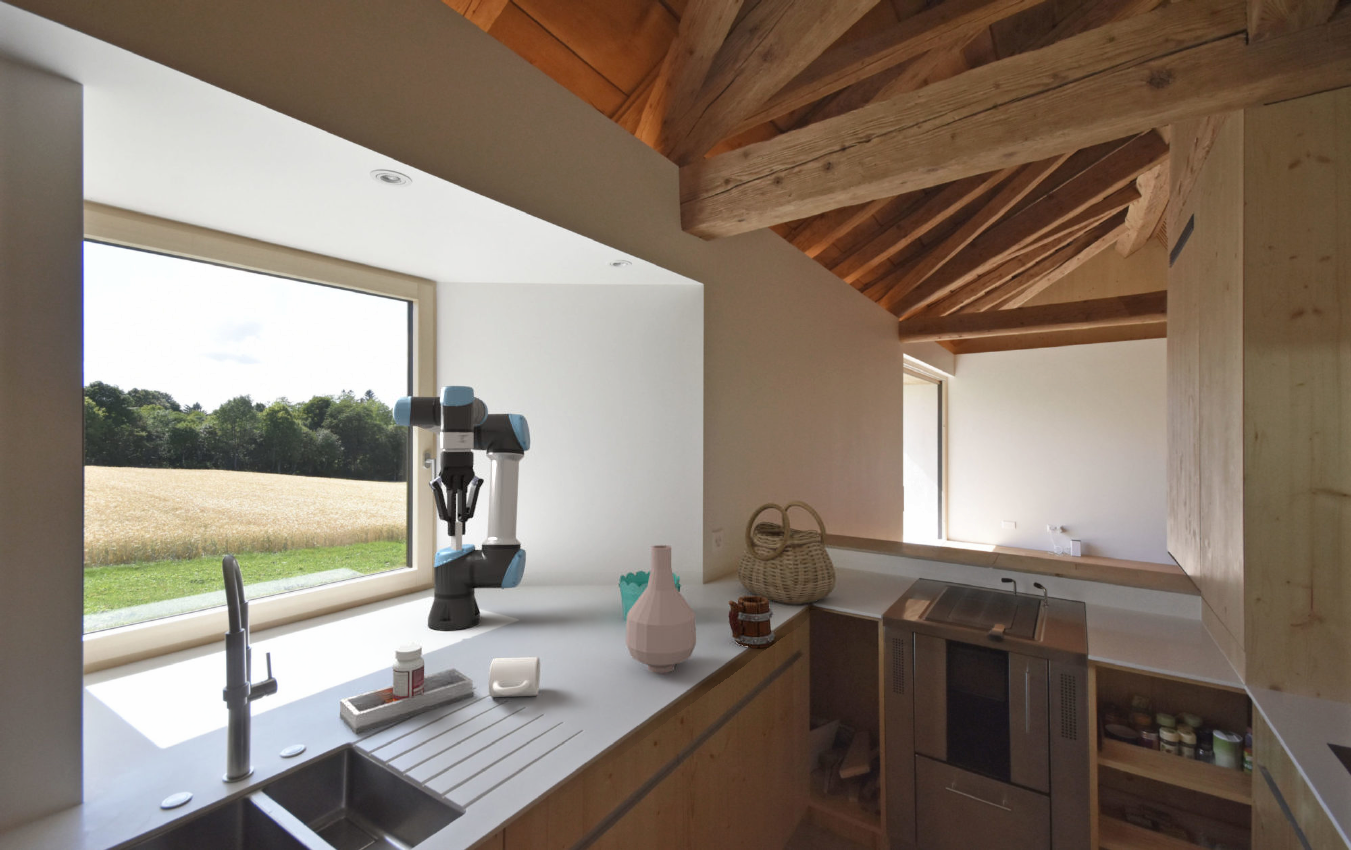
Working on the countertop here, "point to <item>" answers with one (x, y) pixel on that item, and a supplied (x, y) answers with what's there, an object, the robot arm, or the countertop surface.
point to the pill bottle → (408, 672)
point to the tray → (404, 701)
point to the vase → (661, 619)
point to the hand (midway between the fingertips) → (456, 549)
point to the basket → (786, 559)
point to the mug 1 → (514, 677)
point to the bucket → (636, 588)
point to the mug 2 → (751, 621)
